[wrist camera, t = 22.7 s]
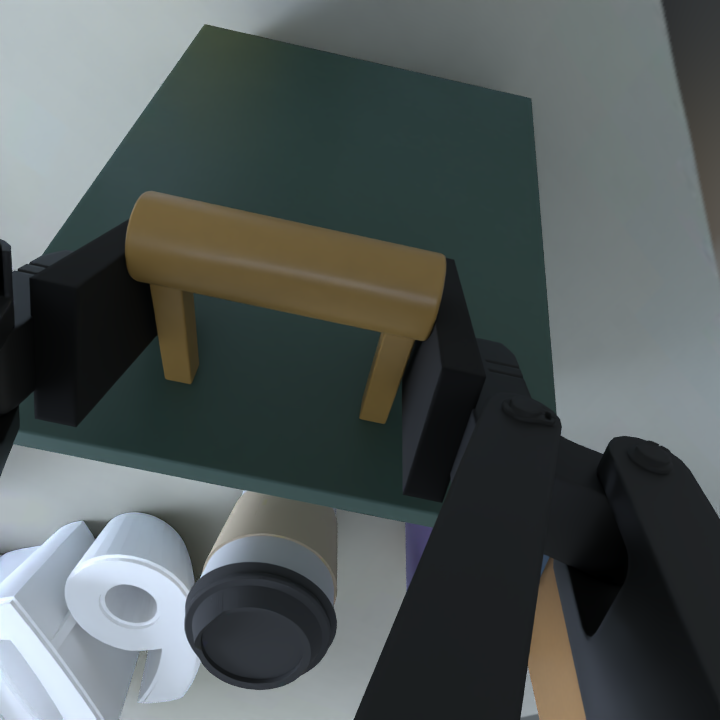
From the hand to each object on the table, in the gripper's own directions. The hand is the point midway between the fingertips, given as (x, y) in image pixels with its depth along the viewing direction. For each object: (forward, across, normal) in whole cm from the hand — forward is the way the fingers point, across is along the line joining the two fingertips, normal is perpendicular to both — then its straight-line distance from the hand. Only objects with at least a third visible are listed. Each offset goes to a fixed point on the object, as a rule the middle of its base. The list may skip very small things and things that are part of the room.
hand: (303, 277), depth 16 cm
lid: (+6, 0, 0) cm, 6 cm away
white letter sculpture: (+22, -20, -40) cm, 50 cm away
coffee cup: (+22, 0, -25) cm, 34 cm away
